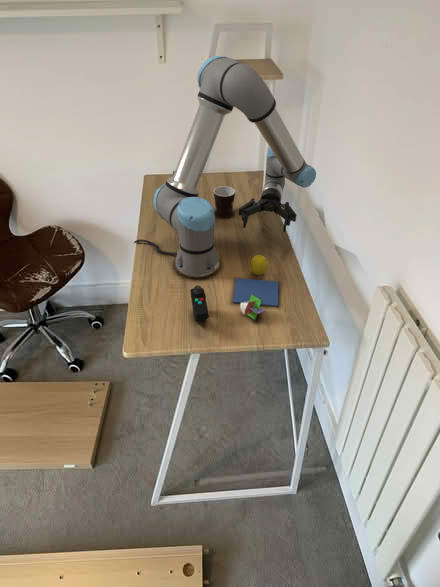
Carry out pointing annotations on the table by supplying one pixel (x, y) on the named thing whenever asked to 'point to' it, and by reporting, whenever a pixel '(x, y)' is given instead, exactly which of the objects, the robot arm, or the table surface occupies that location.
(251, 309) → the geometric puzzle
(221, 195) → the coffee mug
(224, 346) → the table surface
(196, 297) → the controller
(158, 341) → the table surface
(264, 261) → the lemon
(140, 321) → the table surface
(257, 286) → the blue mat
